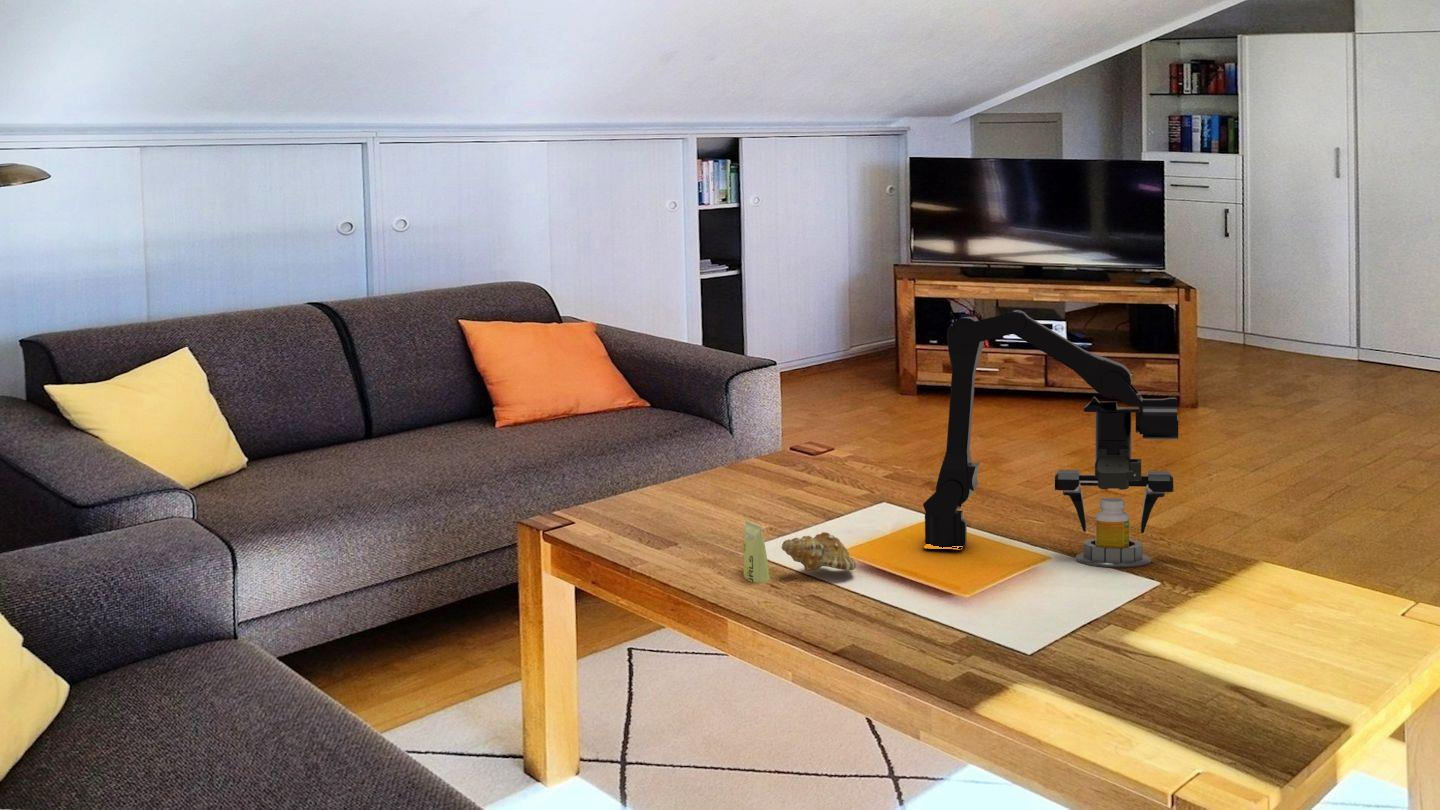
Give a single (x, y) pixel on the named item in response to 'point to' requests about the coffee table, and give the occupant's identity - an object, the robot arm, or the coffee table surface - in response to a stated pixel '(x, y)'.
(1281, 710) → the coffee table surface
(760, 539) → the tube
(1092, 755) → the coffee table surface
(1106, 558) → the collar stand
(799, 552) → the seashell
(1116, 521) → the supplement bottle
